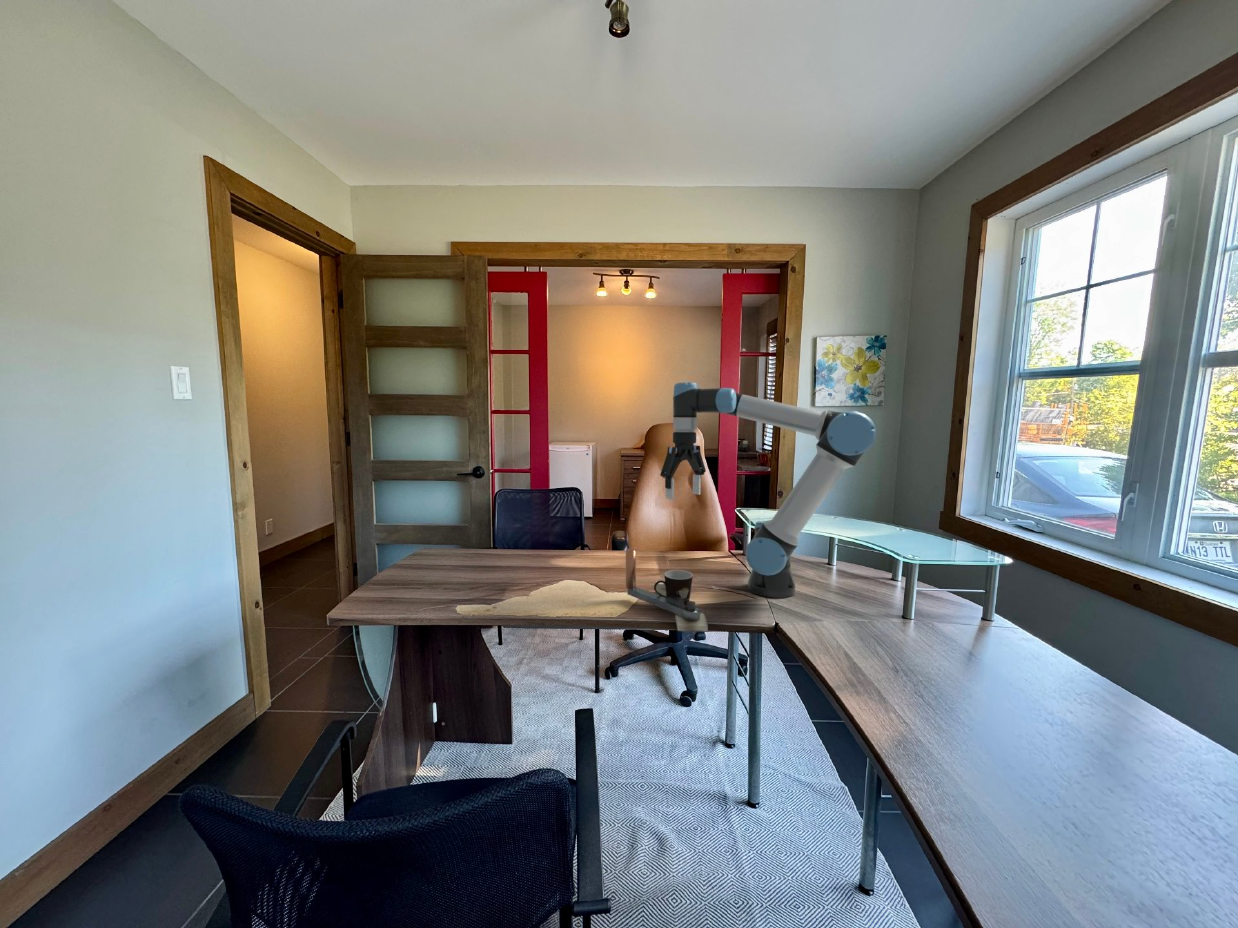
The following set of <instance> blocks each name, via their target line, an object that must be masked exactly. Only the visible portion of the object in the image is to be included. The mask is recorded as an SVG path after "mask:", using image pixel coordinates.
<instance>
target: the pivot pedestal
mask: <svg viewBox="0 0 1238 928" xmlns="http://www.w3.org/2000/svg"><path fill="white" fill-rule="evenodd" d="M695 607H696V602H695V600H694V601H693V600H689V601H688V602H687V610H689V611H695ZM674 614H675V613H674ZM674 618H675V623H676V628H677V632H709V629H708V628H709V625H708V623H707V619H706V616H705V614H704V613H701V612H700V619H699V620H696V621H689V620H686V619H684V618H683V617H682V616H680V615H678V614H675V617H674Z"/></svg>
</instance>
